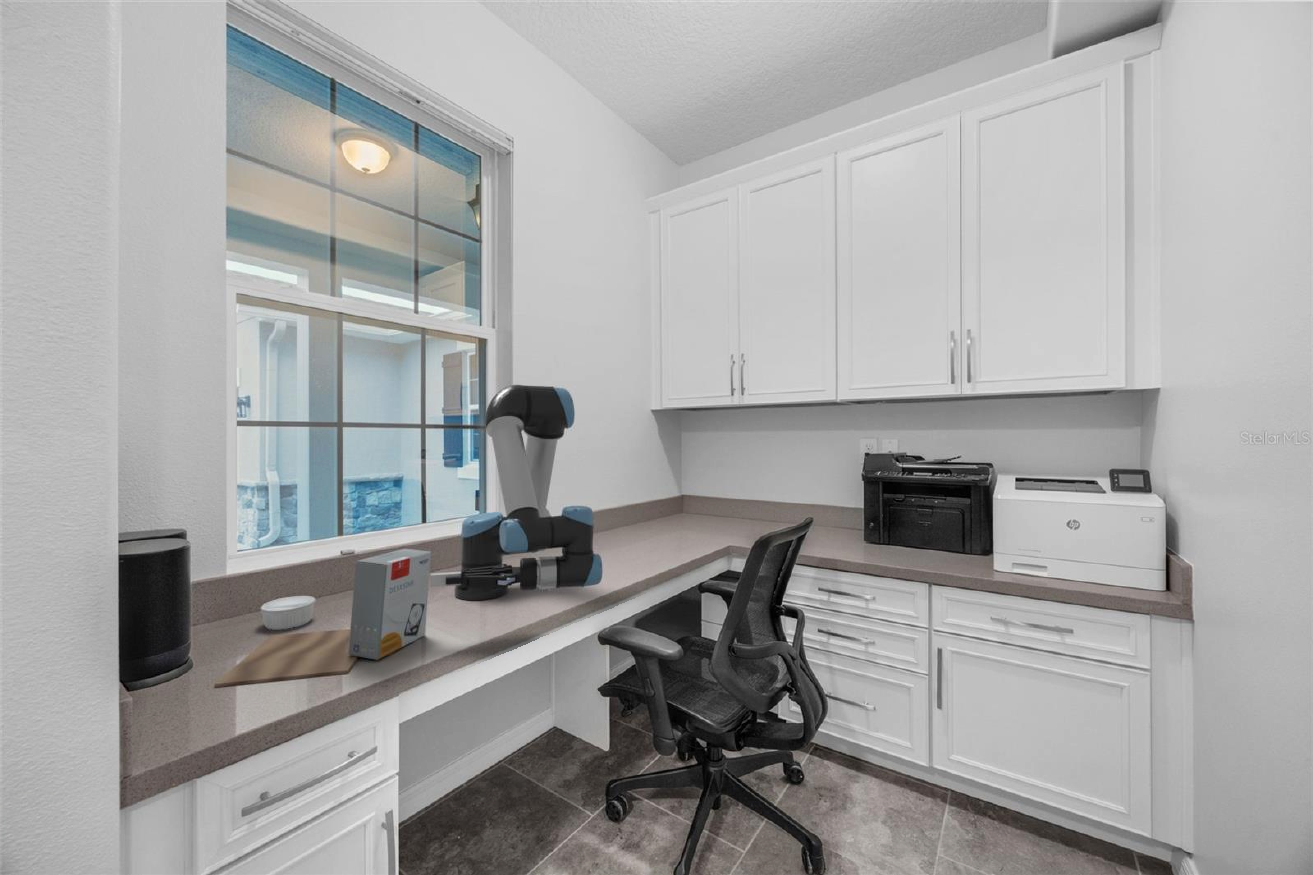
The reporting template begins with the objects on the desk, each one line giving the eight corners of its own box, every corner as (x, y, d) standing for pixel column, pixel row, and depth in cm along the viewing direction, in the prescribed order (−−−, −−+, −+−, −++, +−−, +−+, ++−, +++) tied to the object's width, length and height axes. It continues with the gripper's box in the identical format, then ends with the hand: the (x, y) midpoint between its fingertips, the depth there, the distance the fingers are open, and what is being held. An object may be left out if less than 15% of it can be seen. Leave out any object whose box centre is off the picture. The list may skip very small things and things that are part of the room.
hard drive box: (378, 661, 107) (384, 564, 107) (346, 656, 108) (352, 560, 108) (426, 635, 122) (432, 550, 122) (398, 630, 123) (403, 547, 124)
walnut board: (377, 629, 125) (377, 626, 125) (348, 673, 102) (348, 670, 102) (271, 638, 119) (271, 635, 119) (214, 687, 96) (214, 684, 96)
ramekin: (270, 635, 121) (270, 613, 121) (252, 625, 127) (253, 604, 127) (323, 622, 130) (323, 601, 130) (304, 613, 136) (304, 593, 136)
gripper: (538, 597, 118) (426, 606, 111) (535, 581, 130) (434, 588, 124) (538, 564, 118) (426, 571, 111) (535, 551, 130) (434, 557, 124)
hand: (430, 580), depth 117 cm, fingers closed
